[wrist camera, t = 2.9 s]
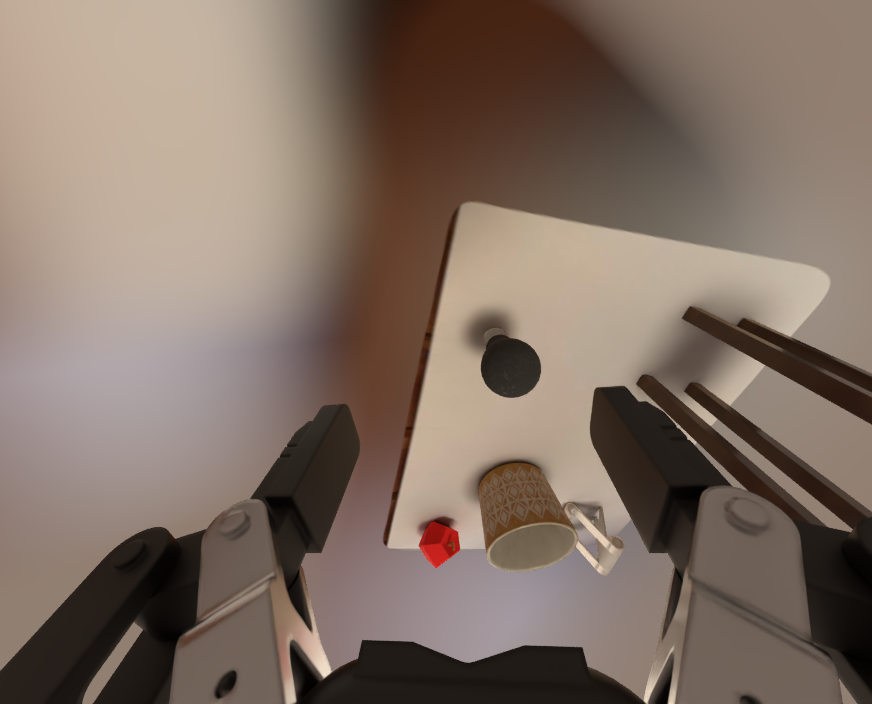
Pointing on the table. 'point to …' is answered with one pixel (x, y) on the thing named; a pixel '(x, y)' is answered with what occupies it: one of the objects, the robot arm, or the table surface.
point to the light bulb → (509, 365)
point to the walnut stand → (798, 363)
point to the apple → (439, 543)
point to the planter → (523, 519)
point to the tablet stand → (598, 540)
